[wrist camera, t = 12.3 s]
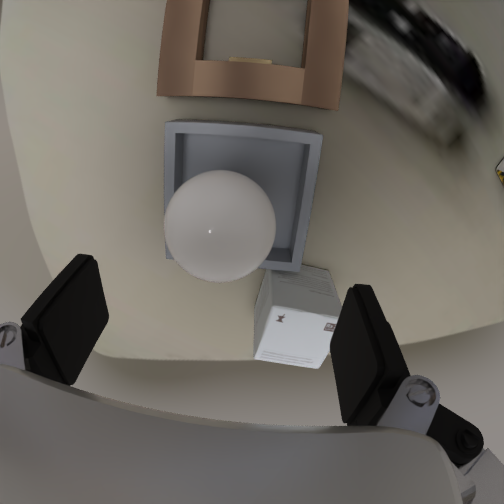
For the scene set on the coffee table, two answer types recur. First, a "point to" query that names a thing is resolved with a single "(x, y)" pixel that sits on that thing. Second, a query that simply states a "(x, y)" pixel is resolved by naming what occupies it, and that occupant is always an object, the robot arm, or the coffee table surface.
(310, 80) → the socket collar
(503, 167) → the medicine bottle
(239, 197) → the lightbulb
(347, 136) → the coffee table surface
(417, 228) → the coffee table surface
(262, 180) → the tray
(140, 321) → the coffee table surface
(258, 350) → the skincare box
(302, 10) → the coffee table surface
